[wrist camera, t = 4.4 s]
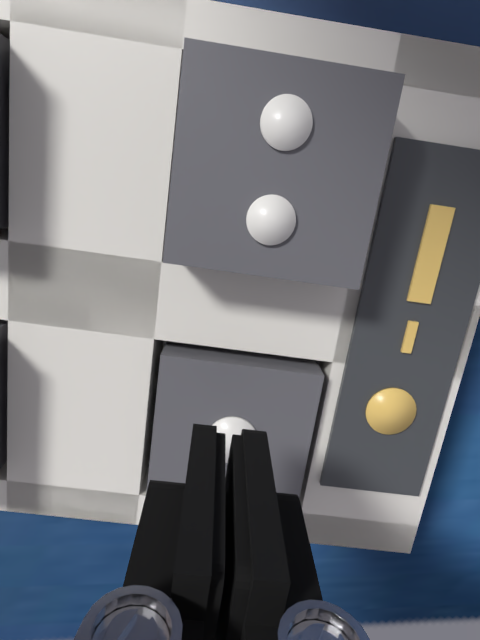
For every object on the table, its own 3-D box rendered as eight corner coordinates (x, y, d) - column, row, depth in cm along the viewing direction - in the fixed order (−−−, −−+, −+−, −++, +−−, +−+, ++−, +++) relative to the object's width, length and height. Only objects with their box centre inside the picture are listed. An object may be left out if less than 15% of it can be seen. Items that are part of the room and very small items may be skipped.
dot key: (173, 327, 16) (159, 356, 13) (308, 344, 16) (325, 377, 14) (159, 448, 18) (145, 500, 15) (285, 462, 18) (296, 516, 15)
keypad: (-257, -34, 14) (-432, -116, 10) (483, 90, 15) (562, 56, 12) (-199, 426, 18) (-308, 484, 14) (378, 491, 19) (413, 560, 16)
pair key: (194, 74, 13) (184, 35, 10) (366, 101, 13) (407, 73, 10) (177, 249, 14) (161, 263, 11) (333, 271, 14) (360, 290, 11)
